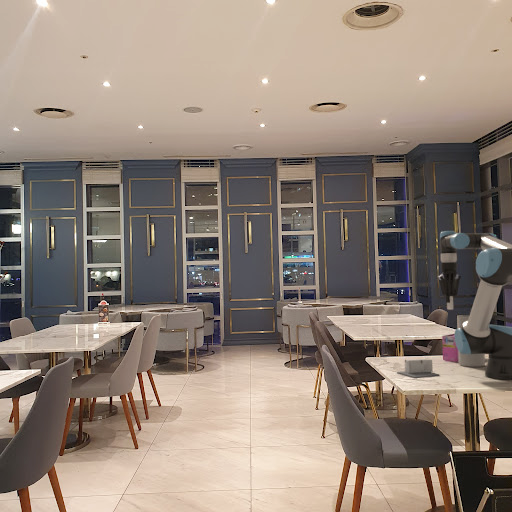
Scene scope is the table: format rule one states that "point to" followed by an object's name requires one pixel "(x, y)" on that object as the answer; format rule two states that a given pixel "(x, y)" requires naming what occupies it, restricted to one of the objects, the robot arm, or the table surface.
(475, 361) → the cylinder vase
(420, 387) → the table surface
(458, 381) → the table surface
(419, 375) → the mat
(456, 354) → the gum box
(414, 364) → the skincare box
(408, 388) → the table surface
